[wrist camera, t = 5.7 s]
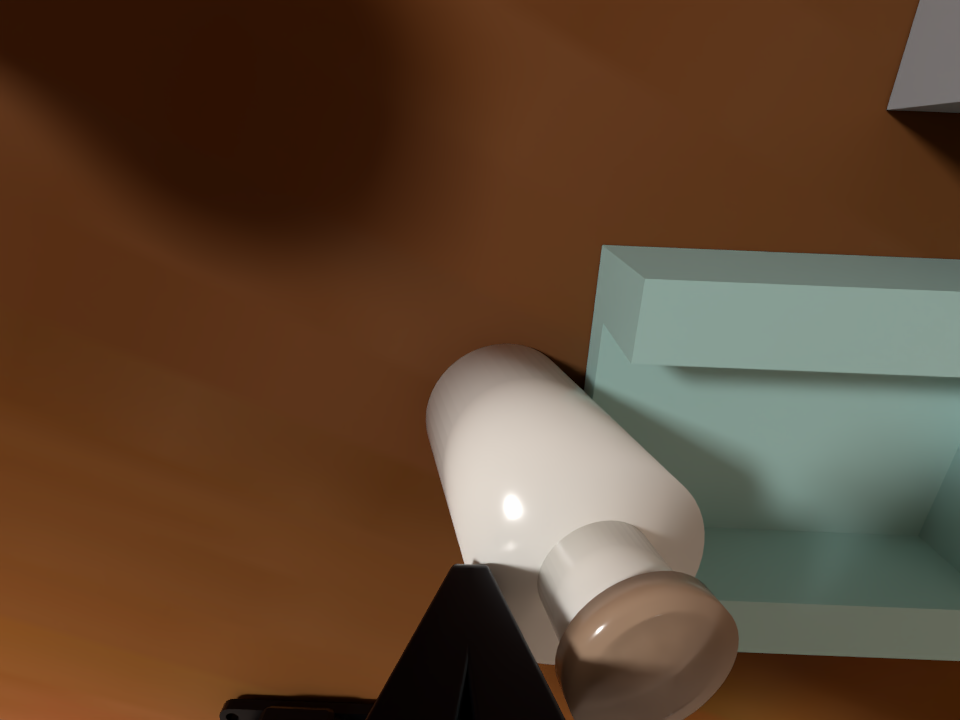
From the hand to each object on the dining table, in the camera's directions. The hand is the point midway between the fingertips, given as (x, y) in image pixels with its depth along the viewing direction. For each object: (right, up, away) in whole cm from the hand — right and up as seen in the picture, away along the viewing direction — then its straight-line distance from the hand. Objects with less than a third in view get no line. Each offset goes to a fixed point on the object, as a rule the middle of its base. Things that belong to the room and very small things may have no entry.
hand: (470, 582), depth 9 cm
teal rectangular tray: (+9, +2, +7) cm, 12 cm away
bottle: (+1, +2, +6) cm, 7 cm away
